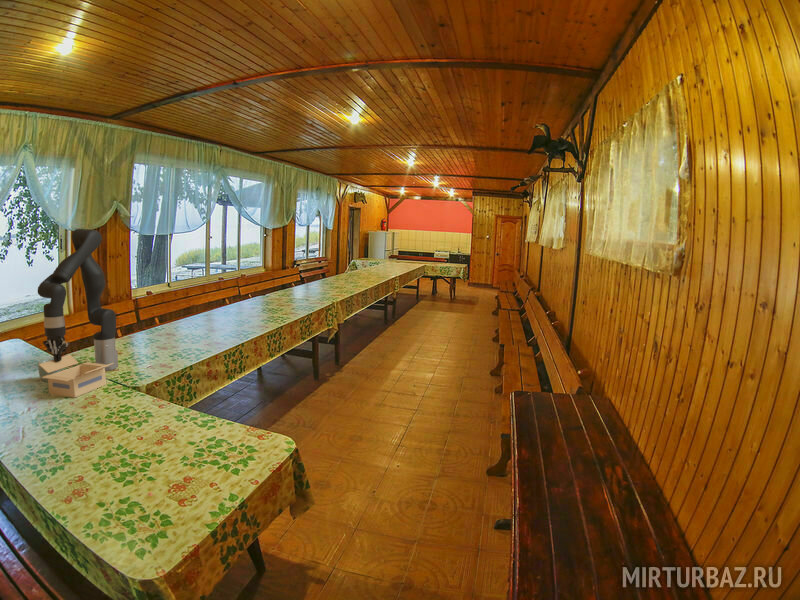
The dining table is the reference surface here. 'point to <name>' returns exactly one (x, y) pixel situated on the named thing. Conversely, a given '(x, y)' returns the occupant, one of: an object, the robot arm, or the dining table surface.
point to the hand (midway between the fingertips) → (57, 360)
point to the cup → (42, 371)
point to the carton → (76, 380)
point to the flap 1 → (58, 364)
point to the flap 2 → (94, 370)
